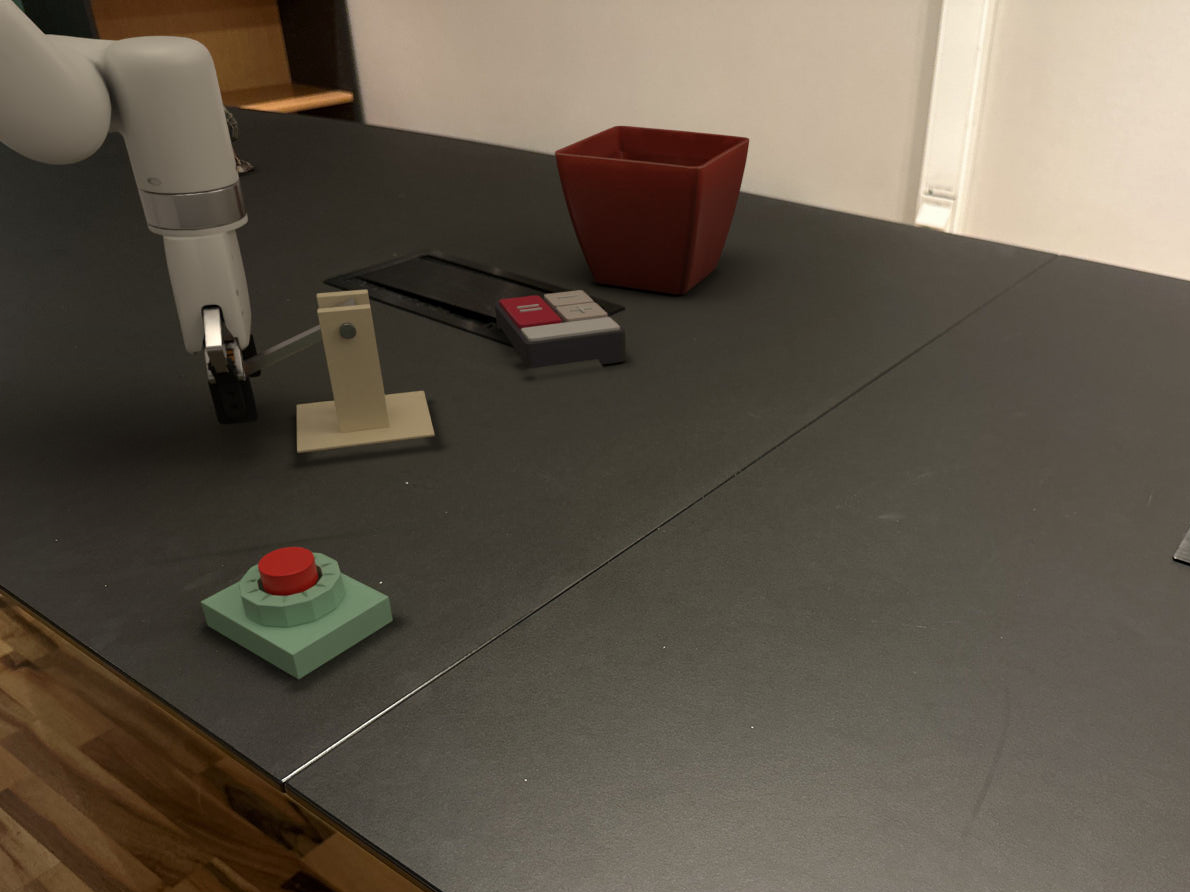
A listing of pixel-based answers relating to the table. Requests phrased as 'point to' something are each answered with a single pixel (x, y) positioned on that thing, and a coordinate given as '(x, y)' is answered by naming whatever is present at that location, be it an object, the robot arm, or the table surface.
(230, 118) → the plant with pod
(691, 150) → the flower pot
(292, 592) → the button
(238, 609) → the control block
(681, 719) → the table surface
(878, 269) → the table surface
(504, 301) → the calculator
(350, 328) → the bracket
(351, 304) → the lever
